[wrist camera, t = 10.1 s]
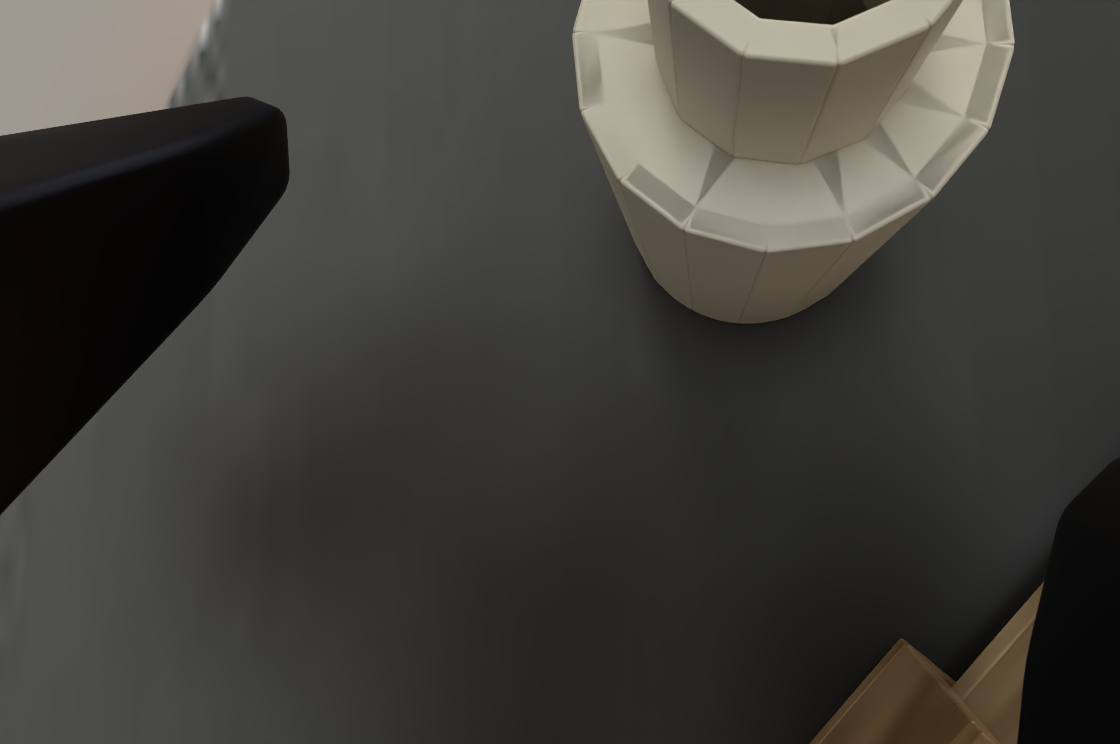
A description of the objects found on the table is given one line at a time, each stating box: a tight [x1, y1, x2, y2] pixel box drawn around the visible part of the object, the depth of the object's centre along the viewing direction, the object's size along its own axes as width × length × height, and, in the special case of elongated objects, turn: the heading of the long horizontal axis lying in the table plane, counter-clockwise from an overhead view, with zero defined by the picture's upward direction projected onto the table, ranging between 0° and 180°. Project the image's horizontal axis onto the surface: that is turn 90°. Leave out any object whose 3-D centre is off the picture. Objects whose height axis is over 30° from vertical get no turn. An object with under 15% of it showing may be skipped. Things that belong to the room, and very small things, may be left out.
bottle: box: [572, 0, 1015, 324], centre depth 13 cm, size 5×5×12 cm
